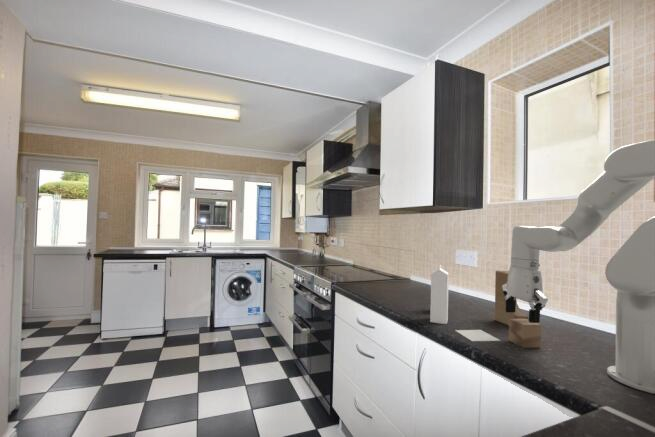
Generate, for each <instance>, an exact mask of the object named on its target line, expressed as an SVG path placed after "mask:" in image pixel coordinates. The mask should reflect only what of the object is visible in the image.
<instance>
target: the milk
mask: <svg viewBox="0 0 655 437" xmlns="http://www.w3.org/2000/svg"><path fill="white" fill-rule="evenodd" d="M449 275H450V274H449V272H448V271H447V270H445V269H443V268H442V264H440V265H439V268H437V269H435V270H433V271H432V272H431V274H430V298H431V307H430V306H429V307H430V311H429V314H430V315H429V316H430V317H429V319H430V320H429V322H430V323H435V324H441V325H447V324H448V321H449V320H448V319H449V284H450V283H449V278H450V277H449Z"/></svg>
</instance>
